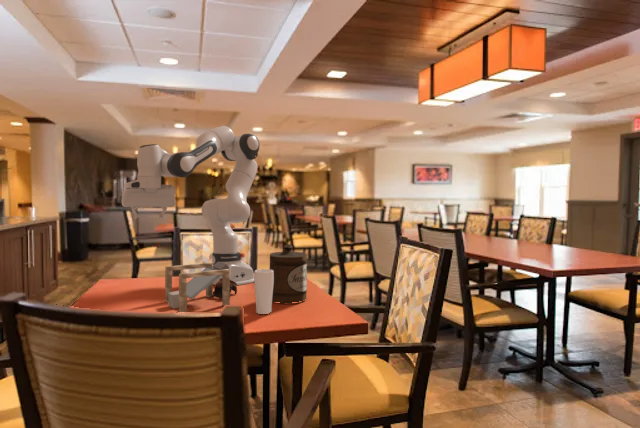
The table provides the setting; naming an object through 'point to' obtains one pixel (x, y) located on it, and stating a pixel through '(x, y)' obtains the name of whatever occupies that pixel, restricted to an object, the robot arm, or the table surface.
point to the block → (174, 299)
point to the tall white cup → (263, 290)
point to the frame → (196, 274)
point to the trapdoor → (203, 280)
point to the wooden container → (289, 275)
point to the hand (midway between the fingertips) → (149, 218)
